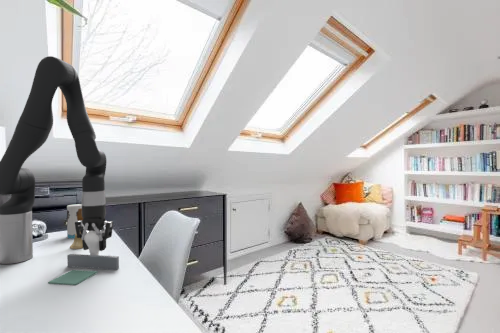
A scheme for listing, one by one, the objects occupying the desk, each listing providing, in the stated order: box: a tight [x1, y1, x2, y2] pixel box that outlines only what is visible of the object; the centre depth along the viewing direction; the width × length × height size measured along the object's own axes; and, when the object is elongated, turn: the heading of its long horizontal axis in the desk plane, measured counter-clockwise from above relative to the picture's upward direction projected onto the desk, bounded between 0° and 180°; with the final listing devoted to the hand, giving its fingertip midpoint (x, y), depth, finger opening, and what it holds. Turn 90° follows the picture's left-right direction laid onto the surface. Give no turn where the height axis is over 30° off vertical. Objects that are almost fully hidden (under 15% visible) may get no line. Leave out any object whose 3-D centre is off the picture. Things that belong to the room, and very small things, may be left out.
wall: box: [66, 253, 120, 271], centre depth 90 cm, size 18×1×4 cm, turn 82°
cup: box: [66, 203, 85, 239], centre depth 129 cm, size 7×7×15 cm
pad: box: [47, 269, 99, 286], centre depth 82 cm, size 9×9×1 cm
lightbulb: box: [84, 230, 103, 255], centre depth 97 cm, size 6×6×11 cm
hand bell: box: [69, 208, 83, 250], centre depth 114 cm, size 8×8×16 cm
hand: (94, 249), depth 97 cm, fingers closed on lightbulb, 5 cm apart
